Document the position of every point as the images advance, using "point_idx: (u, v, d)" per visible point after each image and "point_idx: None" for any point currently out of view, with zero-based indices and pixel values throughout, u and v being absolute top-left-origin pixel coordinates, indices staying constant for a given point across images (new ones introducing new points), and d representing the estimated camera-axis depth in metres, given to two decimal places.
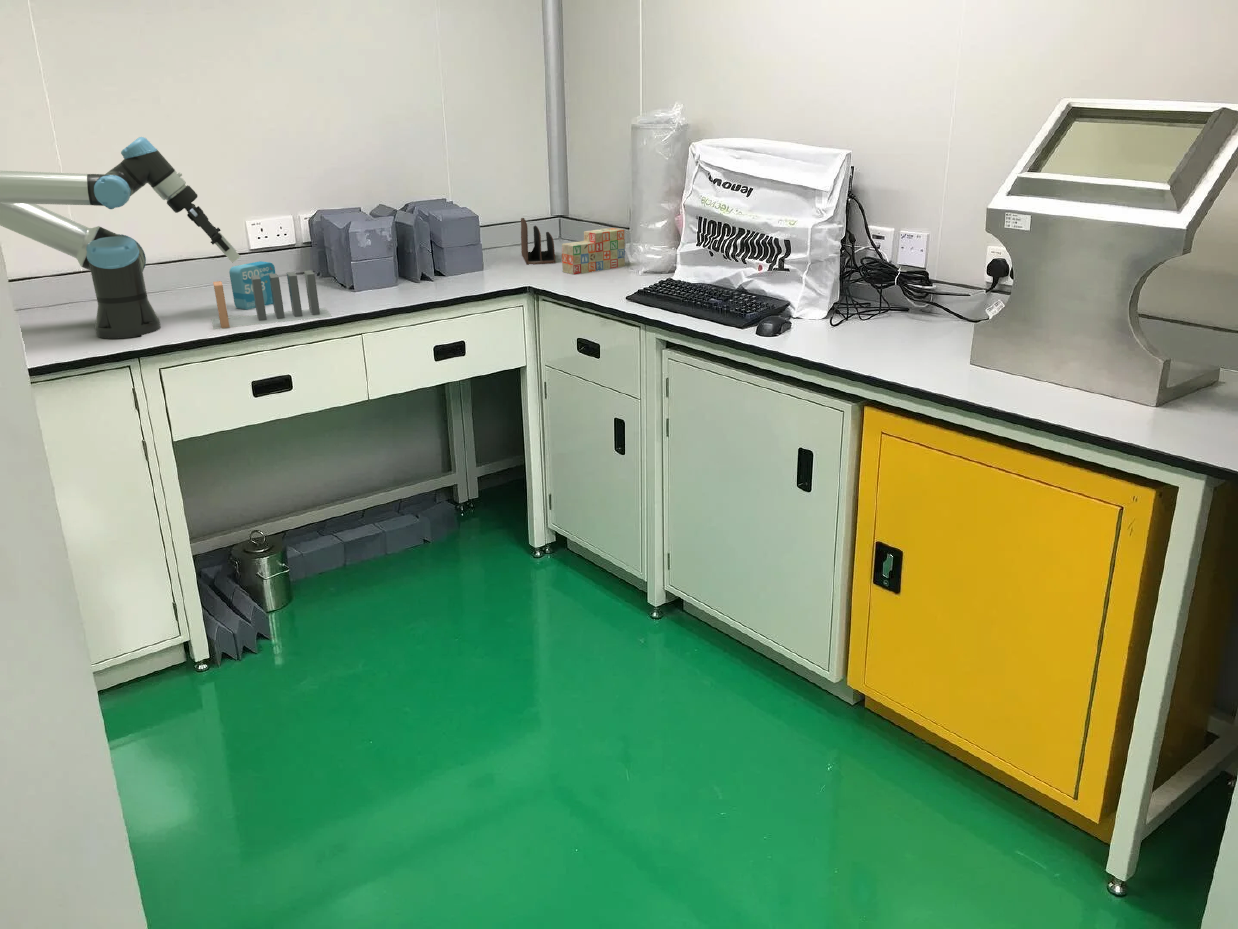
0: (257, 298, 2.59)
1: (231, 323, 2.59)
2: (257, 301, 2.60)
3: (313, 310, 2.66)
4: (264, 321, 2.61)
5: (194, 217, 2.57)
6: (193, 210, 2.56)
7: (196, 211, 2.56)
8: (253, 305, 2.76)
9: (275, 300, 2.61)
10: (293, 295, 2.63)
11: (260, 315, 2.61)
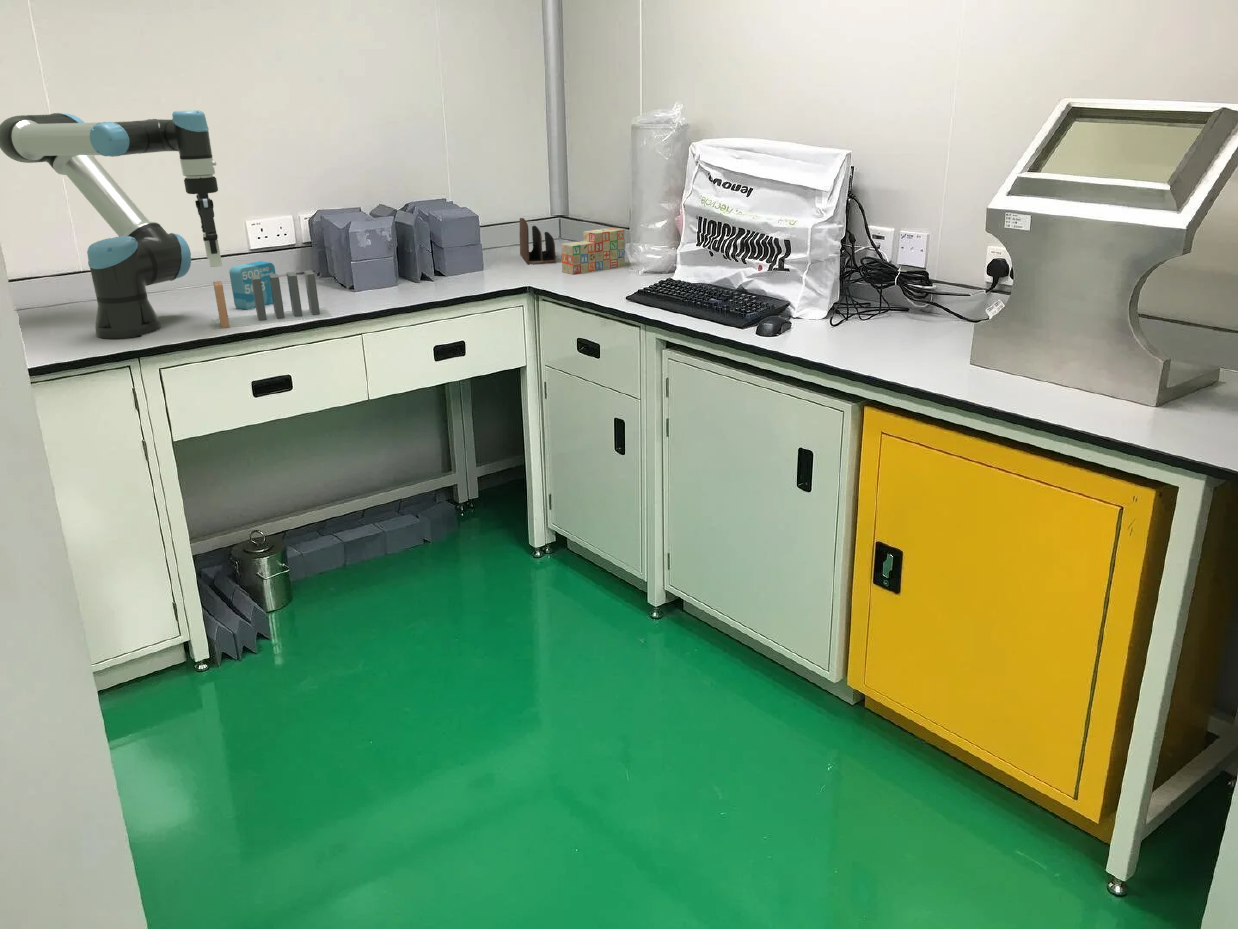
0: (257, 298, 2.59)
1: (231, 323, 2.59)
2: (257, 301, 2.60)
3: (313, 310, 2.66)
4: (264, 321, 2.61)
5: (203, 207, 2.40)
6: (206, 201, 2.40)
7: (208, 203, 2.41)
8: (253, 305, 2.76)
9: (275, 300, 2.61)
10: (293, 295, 2.63)
11: (260, 315, 2.61)
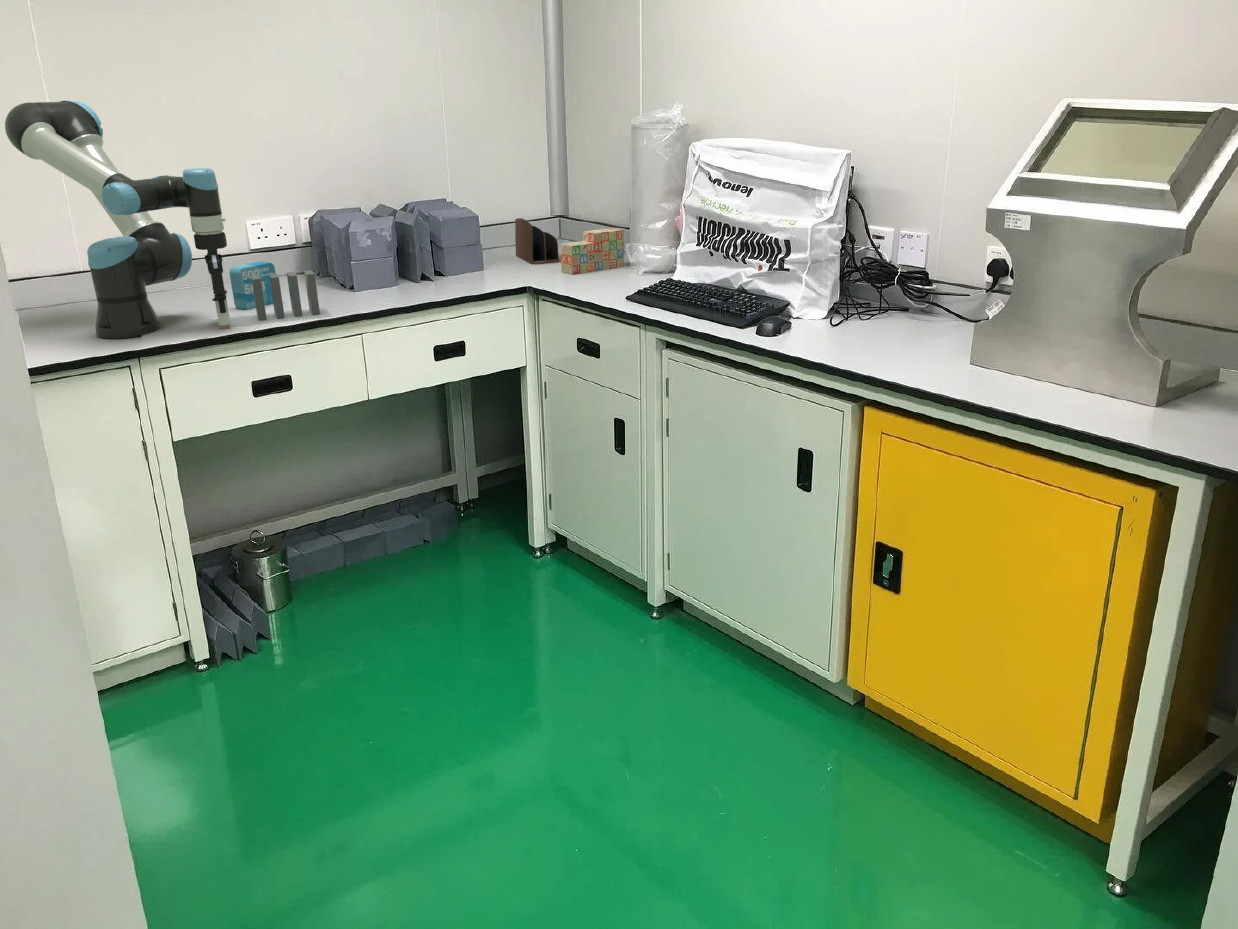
0: (257, 298, 2.59)
1: (231, 323, 2.59)
2: (257, 301, 2.60)
3: (313, 310, 2.66)
4: (264, 321, 2.61)
5: (212, 269, 2.46)
6: (216, 263, 2.46)
7: (218, 265, 2.46)
8: (253, 305, 2.76)
9: (275, 300, 2.61)
10: (293, 295, 2.63)
11: (260, 315, 2.61)
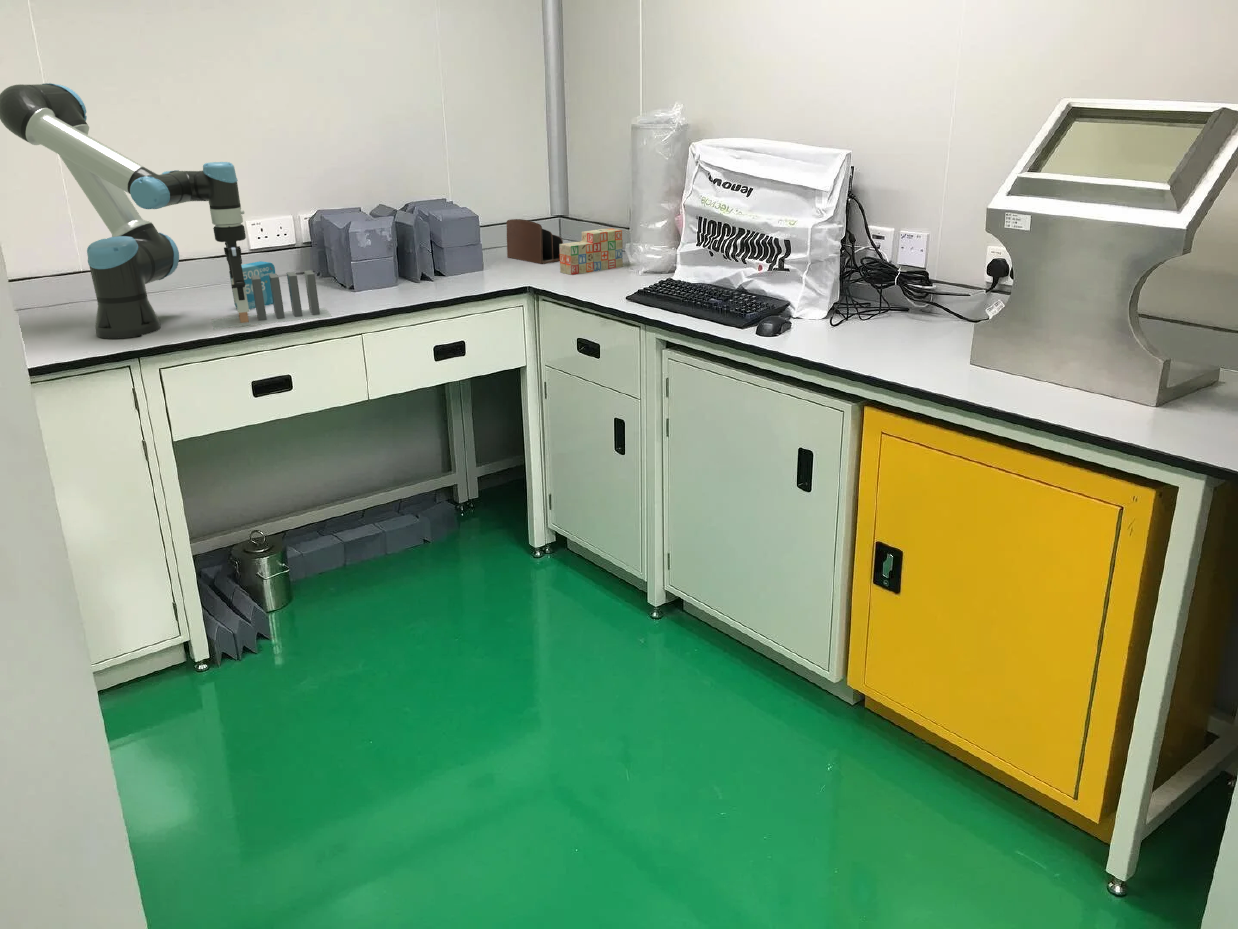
0: (257, 298, 2.59)
1: (231, 323, 2.59)
2: (257, 301, 2.60)
3: (313, 310, 2.66)
4: (264, 321, 2.61)
5: (231, 256, 2.50)
6: (234, 250, 2.50)
7: (237, 252, 2.50)
8: (253, 305, 2.76)
9: (275, 300, 2.61)
10: (293, 295, 2.63)
11: (260, 315, 2.61)
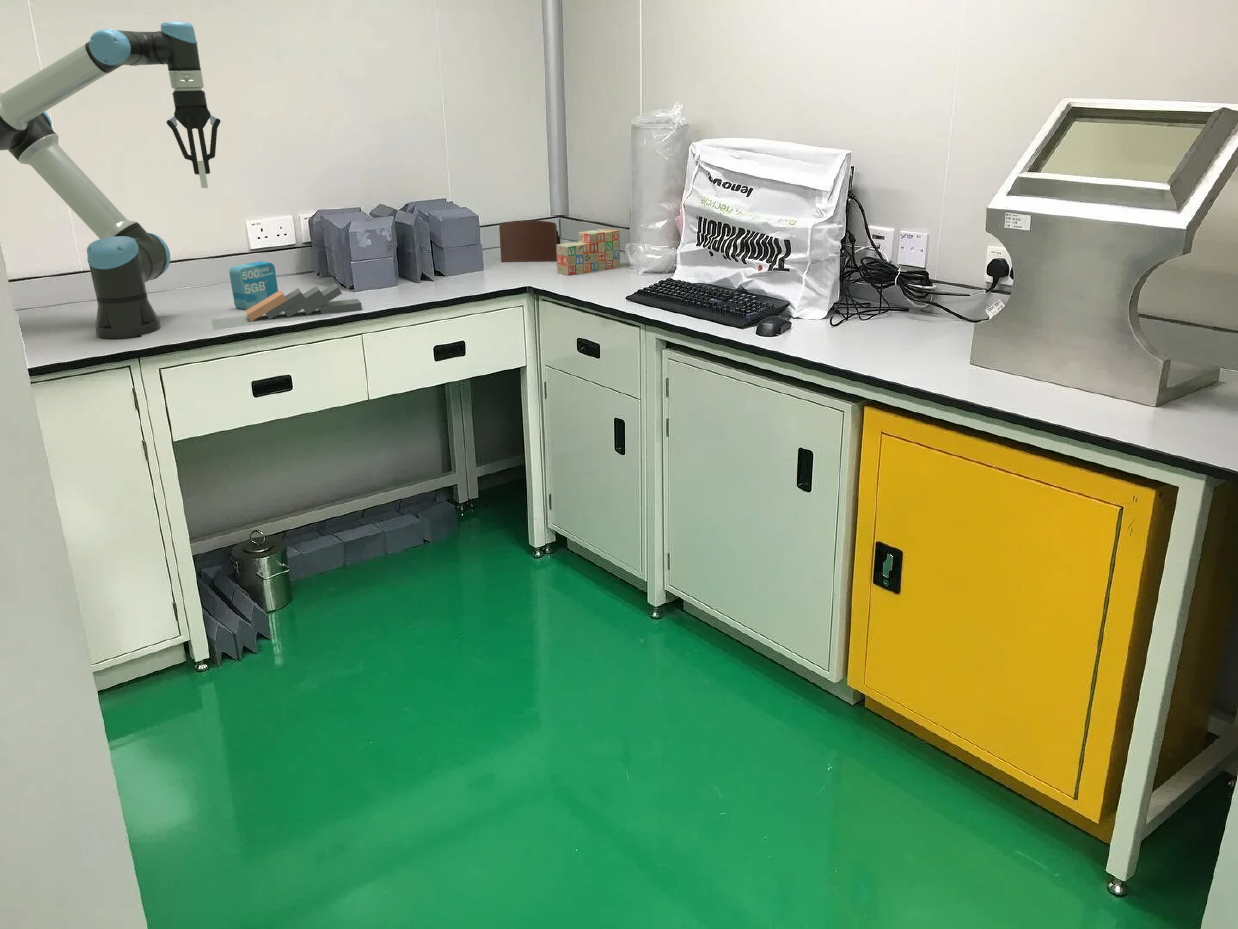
0: (285, 303, 2.63)
1: (231, 323, 2.59)
2: (282, 304, 2.62)
3: (325, 308, 2.67)
4: (264, 321, 2.61)
5: None
6: None
7: (169, 126, 2.45)
8: (253, 305, 2.76)
9: (300, 302, 2.64)
10: (322, 298, 2.66)
11: (270, 312, 2.62)
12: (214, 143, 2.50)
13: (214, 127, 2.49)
